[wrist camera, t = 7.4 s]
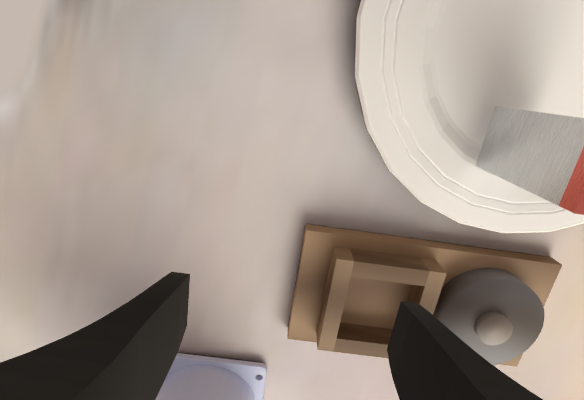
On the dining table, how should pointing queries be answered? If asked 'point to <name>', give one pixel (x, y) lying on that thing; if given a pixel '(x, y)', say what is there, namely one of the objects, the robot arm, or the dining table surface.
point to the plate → (466, 96)
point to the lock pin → (537, 154)
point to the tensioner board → (416, 292)
